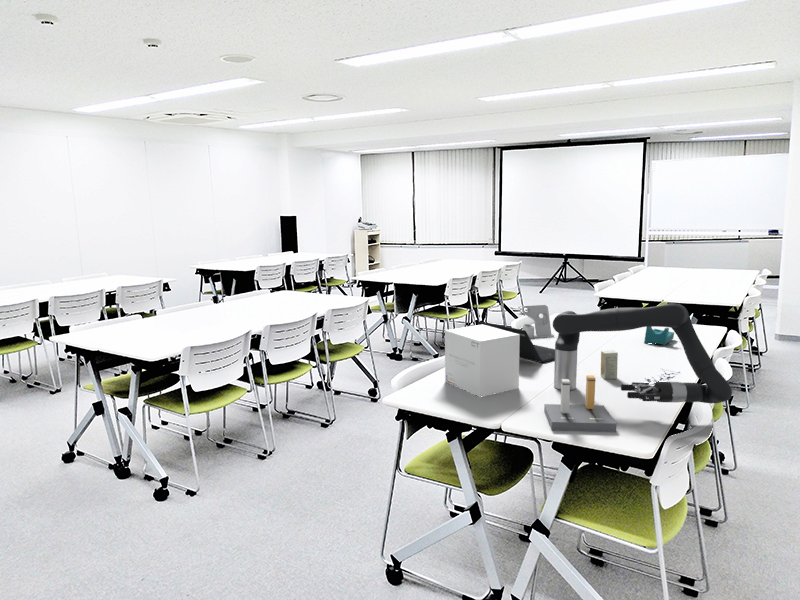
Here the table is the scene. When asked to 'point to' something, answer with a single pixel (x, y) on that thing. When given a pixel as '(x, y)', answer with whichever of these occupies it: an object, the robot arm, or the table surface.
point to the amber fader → (590, 391)
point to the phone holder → (538, 321)
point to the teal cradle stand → (658, 336)
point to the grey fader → (565, 395)
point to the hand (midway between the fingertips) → (624, 391)
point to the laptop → (527, 345)
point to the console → (579, 418)
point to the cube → (482, 359)
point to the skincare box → (609, 364)
